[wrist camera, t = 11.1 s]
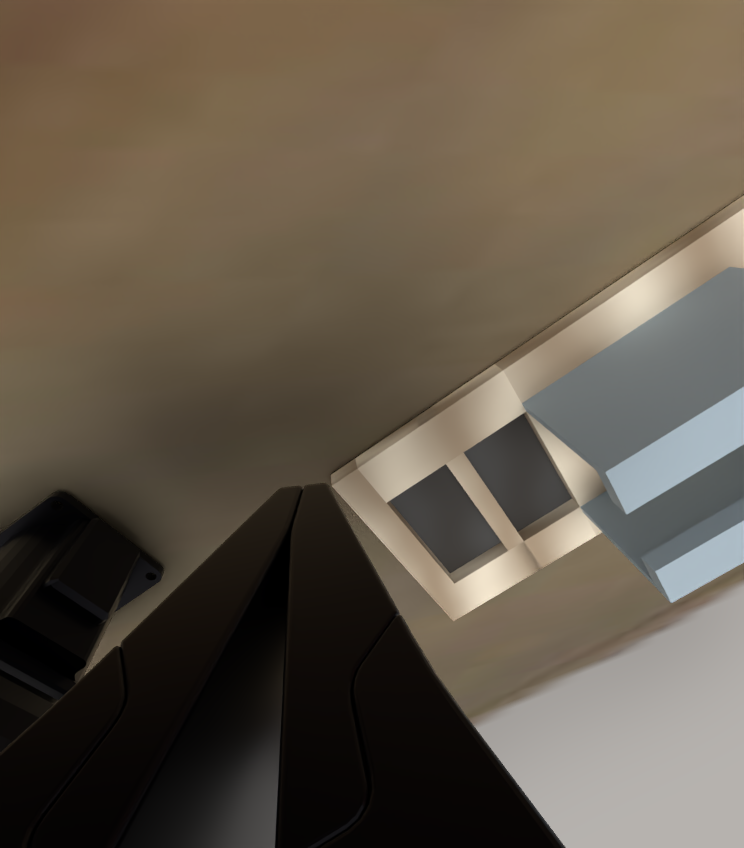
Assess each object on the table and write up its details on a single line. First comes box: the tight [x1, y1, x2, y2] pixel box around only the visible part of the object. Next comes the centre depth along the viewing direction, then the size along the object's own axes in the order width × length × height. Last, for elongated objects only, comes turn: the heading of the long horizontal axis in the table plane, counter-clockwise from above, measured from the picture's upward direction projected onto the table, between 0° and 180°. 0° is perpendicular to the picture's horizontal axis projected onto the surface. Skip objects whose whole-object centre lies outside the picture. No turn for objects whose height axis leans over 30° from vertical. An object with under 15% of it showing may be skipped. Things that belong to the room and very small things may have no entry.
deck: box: [331, 195, 744, 621], centre depth 22 cm, size 27×12×1 cm, turn 124°
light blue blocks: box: [522, 267, 744, 603], centre depth 19 cm, size 10×8×6 cm
